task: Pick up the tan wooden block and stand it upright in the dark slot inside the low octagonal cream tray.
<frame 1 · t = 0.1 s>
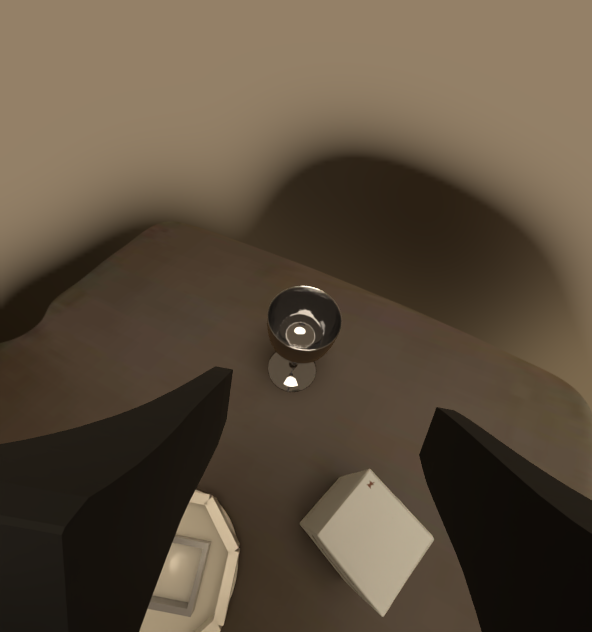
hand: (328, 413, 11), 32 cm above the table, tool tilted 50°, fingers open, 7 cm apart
supplement box: (341, 525, 36), on the table
wine glass: (292, 368, 46), on the table
octagonal cream tray: (169, 565, 33), on the table
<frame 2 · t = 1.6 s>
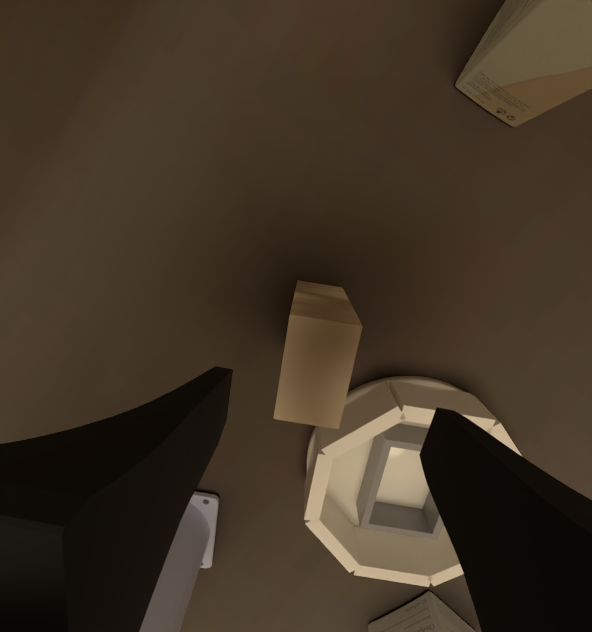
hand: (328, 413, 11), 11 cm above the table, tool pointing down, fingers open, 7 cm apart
box: (512, 61, 17), on the table
supplement box: (419, 623, 29), on the table
tan wooden block: (313, 319, 21), on the table
octagonal cream tray: (400, 460, 24), on the table
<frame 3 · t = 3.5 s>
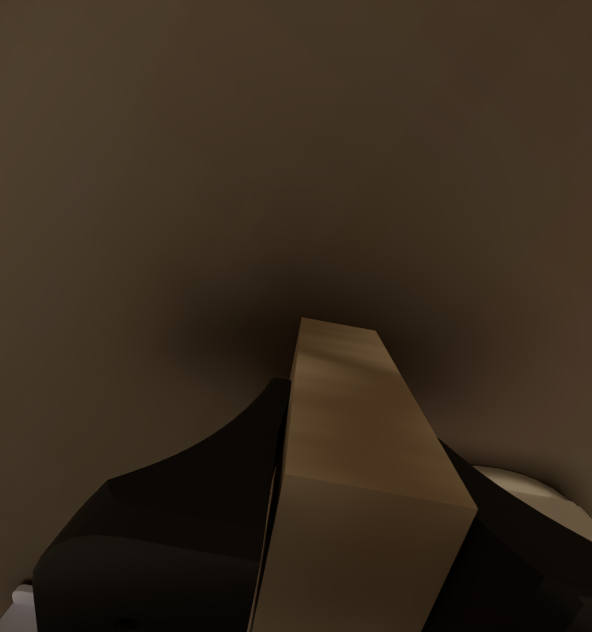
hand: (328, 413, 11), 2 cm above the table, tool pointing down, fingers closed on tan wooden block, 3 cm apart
tan wooden block: (325, 379, 13), on the table, touching gripper
octagonal cream tray: (447, 578, 16), on the table
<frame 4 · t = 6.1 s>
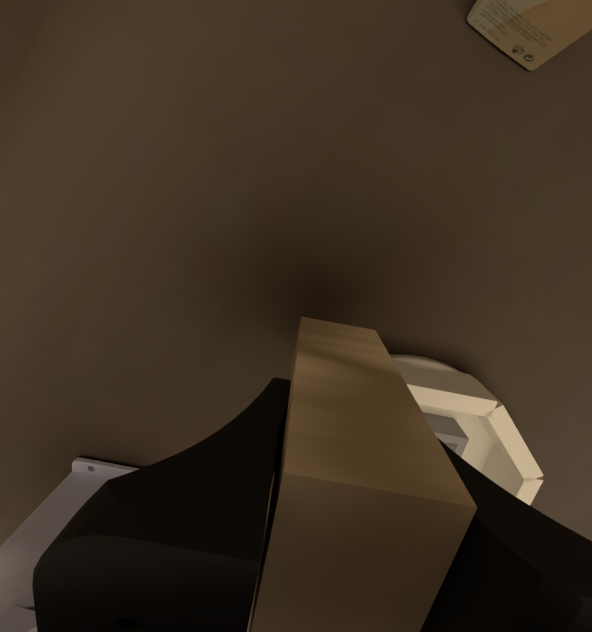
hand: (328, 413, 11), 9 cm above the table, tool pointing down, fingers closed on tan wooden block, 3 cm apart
tan wooden block: (325, 378, 13), point 7 cm above the table, touching gripper
octagonal cream tray: (391, 446, 22), on the table
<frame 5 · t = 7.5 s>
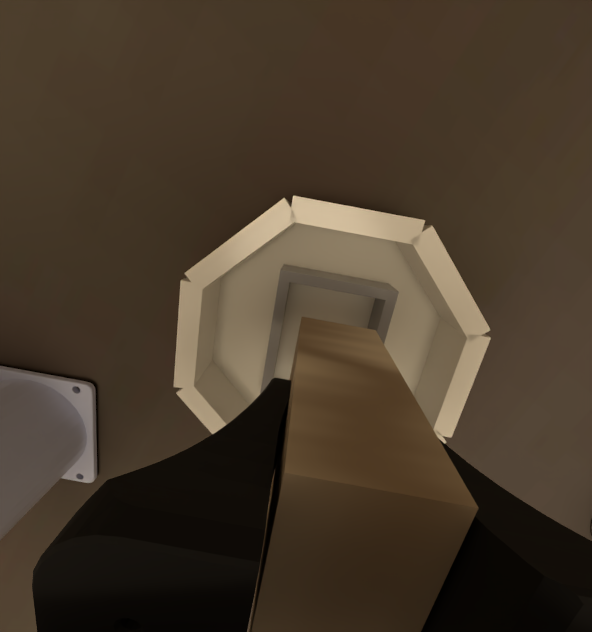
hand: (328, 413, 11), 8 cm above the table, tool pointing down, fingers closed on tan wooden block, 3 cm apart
tan wooden block: (325, 378, 13), point 6 cm above the table, touching gripper
octagonal cream tray: (321, 333, 18), on the table
when the fingers open (4 cm above the table, at t = 8.6 s): tan wooden block stays where it is, resting on octagonal cream tray.
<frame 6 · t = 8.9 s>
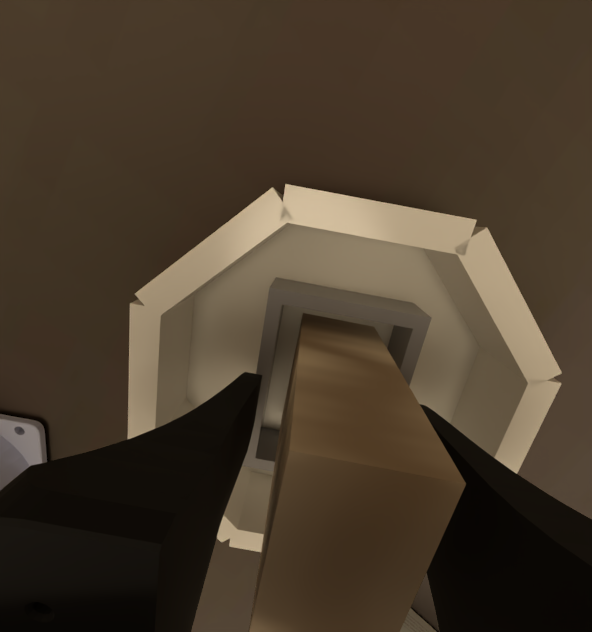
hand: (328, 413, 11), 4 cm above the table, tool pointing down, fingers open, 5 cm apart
supplement box: (366, 627, 20), on the table
tan wooden block: (325, 373, 14), point 1 cm above the table, touching octagonal cream tray
octagonal cream tray: (324, 363, 14), on the table
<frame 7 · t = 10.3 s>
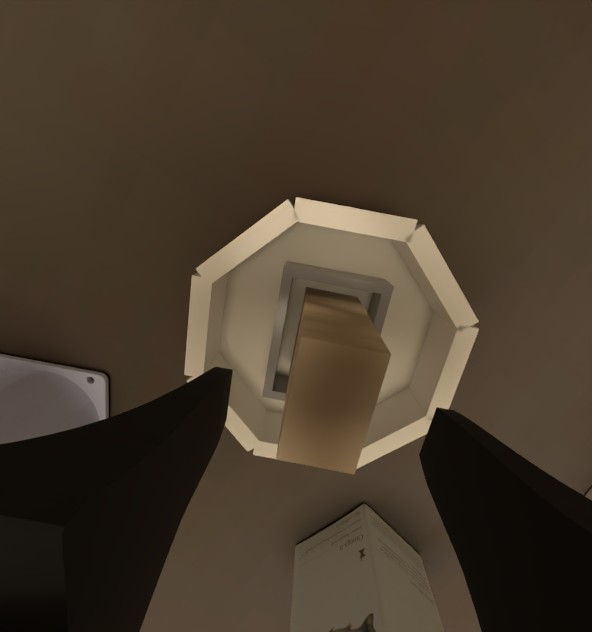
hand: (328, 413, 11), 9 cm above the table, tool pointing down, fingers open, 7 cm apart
supplement box: (356, 546, 25), on the table
tan wooden block: (322, 331, 18), point 1 cm above the table, touching octagonal cream tray
octagonal cream tray: (322, 326, 19), on the table
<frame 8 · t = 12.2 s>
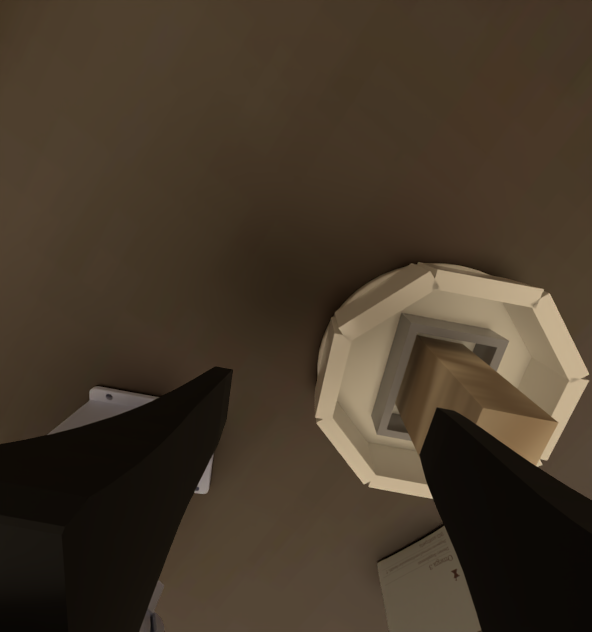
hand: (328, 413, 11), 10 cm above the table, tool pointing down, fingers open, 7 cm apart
supplement box: (432, 563, 27), on the table
tan wooden block: (427, 374, 20), point 1 cm above the table, touching octagonal cream tray
octagonal cream tray: (422, 367, 21), on the table
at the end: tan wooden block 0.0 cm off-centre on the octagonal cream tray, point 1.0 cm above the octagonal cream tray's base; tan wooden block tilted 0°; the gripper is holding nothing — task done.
